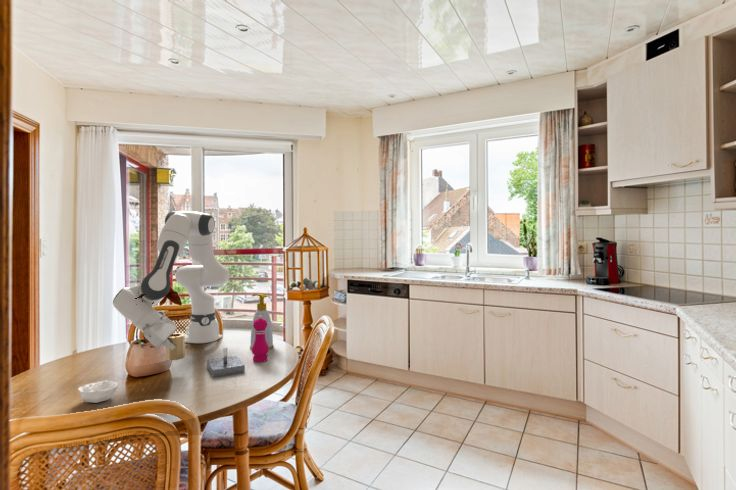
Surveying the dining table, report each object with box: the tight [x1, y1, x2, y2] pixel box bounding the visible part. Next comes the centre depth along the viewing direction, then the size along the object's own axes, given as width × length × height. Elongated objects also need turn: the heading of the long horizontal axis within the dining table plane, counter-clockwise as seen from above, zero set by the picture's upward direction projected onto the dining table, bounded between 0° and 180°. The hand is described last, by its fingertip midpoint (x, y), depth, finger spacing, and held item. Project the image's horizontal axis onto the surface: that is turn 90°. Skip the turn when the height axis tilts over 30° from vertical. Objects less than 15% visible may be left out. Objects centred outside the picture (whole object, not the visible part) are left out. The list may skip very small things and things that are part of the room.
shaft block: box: [206, 347, 246, 379], centre depth 165 cm, size 14×12×9 cm
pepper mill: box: [251, 315, 270, 363], centre depth 178 cm, size 7×7×20 cm
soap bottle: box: [249, 293, 274, 350], centre depth 196 cm, size 11×12×26 cm
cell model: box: [77, 379, 120, 404], centre depth 135 cm, size 10×12×7 cm
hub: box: [165, 332, 186, 361], centre depth 160 cm, size 6×6×9 cm
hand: (177, 345), depth 160 cm, fingers closed on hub, 6 cm apart
